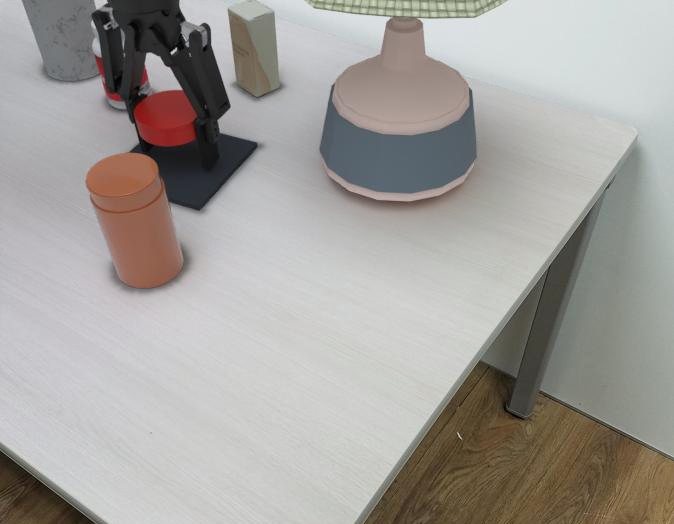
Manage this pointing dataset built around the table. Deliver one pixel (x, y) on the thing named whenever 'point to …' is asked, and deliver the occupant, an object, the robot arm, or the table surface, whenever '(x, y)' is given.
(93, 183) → the jar
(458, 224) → the table surface
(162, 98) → the lid
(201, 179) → the coaster
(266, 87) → the box
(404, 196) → the desk lamp
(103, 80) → the pill bottle
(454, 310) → the table surface
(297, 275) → the table surface
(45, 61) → the gray plant pot
